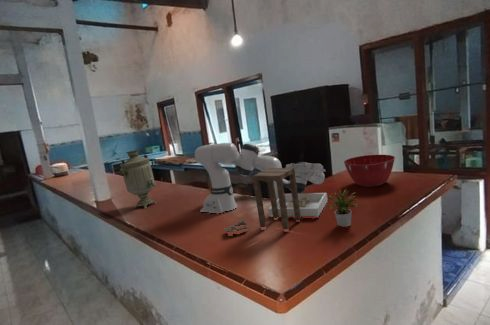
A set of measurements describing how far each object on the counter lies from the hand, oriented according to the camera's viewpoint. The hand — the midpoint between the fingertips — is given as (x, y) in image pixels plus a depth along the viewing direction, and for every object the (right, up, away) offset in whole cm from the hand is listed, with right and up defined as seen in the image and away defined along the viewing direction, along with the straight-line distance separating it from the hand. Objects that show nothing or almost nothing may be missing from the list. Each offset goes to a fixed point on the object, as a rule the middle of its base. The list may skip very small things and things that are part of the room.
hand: (298, 164), depth 159 cm
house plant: (+14, -27, -28) cm, 41 cm away
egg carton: (-31, -32, -16) cm, 47 cm away
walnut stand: (-11, -29, -16) cm, 34 cm away
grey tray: (+1, -24, +1) cm, 24 cm away
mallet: (+2, -22, +3) cm, 22 cm away
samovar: (-97, -30, +57) cm, 116 cm away
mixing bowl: (+48, -12, +25) cm, 56 cm away
